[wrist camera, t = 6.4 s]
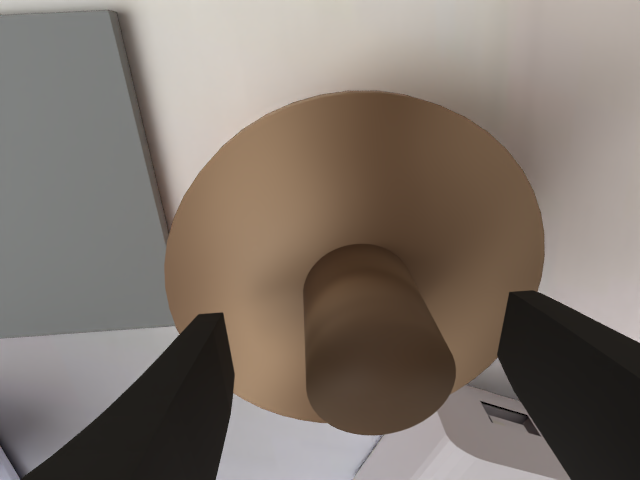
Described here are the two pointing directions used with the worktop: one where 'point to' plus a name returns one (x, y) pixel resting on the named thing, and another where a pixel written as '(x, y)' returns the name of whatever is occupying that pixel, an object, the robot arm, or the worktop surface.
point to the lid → (356, 256)
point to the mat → (75, 182)
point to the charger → (466, 444)
